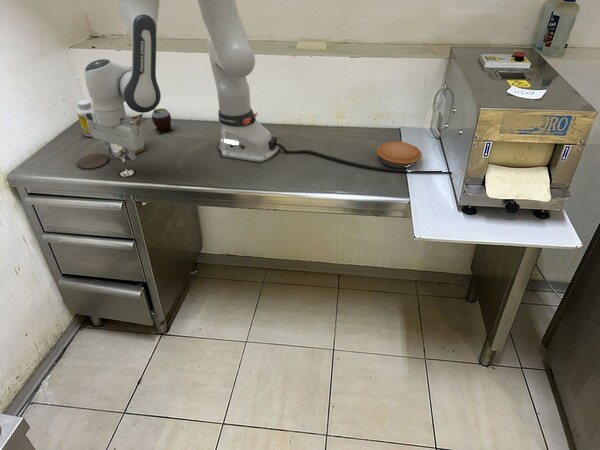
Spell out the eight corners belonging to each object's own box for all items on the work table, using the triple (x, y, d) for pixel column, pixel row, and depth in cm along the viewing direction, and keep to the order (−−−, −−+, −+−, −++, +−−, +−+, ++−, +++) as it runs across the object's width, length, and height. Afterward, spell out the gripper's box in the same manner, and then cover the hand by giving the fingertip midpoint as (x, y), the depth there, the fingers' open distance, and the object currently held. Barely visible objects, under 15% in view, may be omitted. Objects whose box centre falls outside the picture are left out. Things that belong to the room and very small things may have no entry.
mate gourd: (176, 127, 176) (169, 90, 167) (166, 135, 170) (159, 98, 160) (159, 125, 177) (151, 89, 168) (149, 133, 171) (141, 96, 162)
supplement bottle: (98, 137, 168) (88, 105, 160) (81, 137, 168) (70, 105, 160) (104, 130, 173) (95, 98, 166) (88, 130, 174) (78, 98, 166)
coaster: (114, 159, 155) (114, 157, 154) (92, 171, 148) (91, 170, 147) (94, 152, 158) (94, 151, 158) (71, 165, 151) (71, 163, 151)
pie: (368, 153, 159) (370, 141, 156) (408, 148, 162) (410, 136, 159) (385, 174, 147) (387, 161, 144) (427, 169, 150) (430, 156, 147)
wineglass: (130, 178, 144) (121, 145, 137) (114, 176, 145) (105, 143, 138) (139, 169, 149) (130, 137, 142) (123, 167, 150) (114, 135, 142)
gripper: (143, 118, 133) (152, 158, 141) (95, 105, 141) (106, 144, 149) (128, 126, 129) (138, 167, 137) (79, 112, 136) (92, 152, 144)
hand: (121, 155), depth 143 cm, fingers open, 8 cm apart
